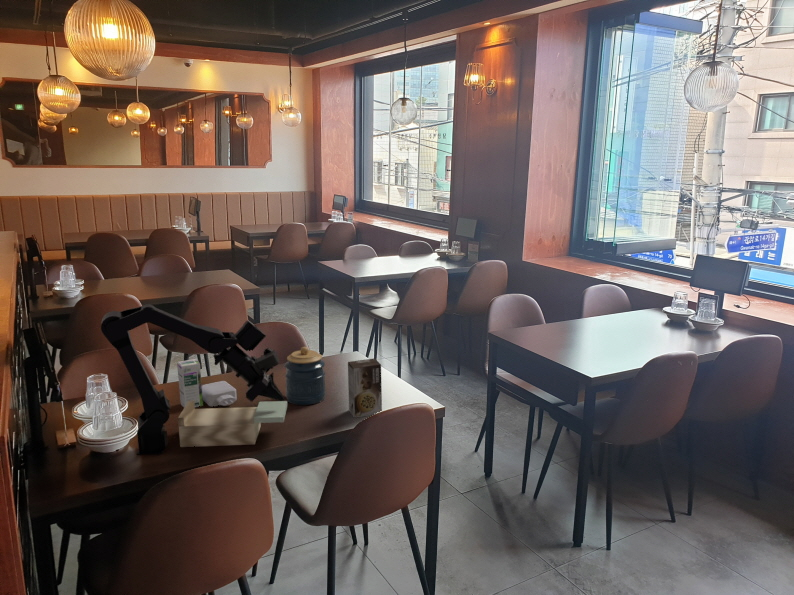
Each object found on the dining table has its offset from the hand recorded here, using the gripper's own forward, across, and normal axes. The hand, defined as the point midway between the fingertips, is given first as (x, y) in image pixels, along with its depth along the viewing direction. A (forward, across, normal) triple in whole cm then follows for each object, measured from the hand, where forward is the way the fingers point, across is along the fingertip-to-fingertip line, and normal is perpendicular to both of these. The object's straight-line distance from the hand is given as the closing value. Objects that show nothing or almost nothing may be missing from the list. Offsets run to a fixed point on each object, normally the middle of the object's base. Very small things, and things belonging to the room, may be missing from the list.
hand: (282, 399), depth 173 cm
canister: (+11, +27, +4) cm, 29 cm away
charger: (-8, +25, +24) cm, 36 cm away
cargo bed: (-5, 0, +20) cm, 20 cm away
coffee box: (+24, +14, -9) cm, 29 cm away
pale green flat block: (-2, 0, +8) cm, 9 cm away
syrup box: (-15, +24, +30) cm, 41 cm away
